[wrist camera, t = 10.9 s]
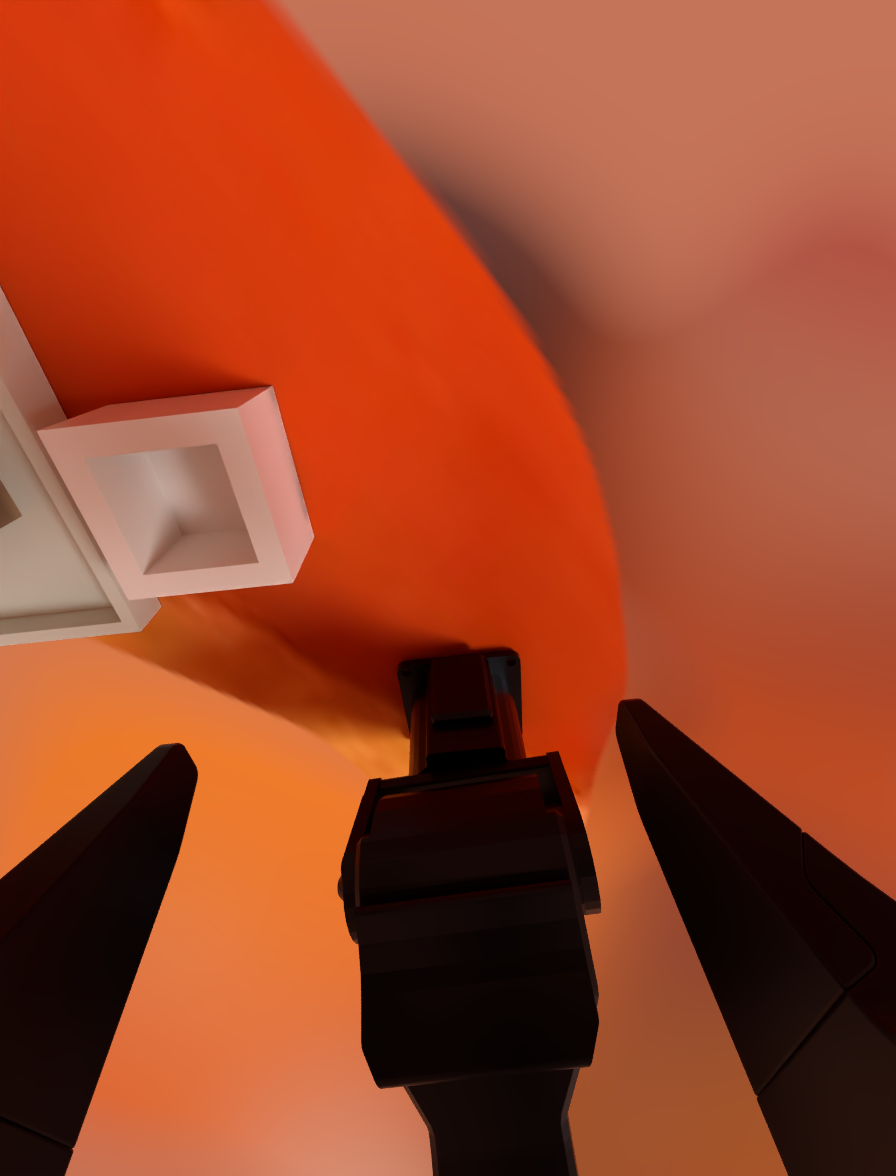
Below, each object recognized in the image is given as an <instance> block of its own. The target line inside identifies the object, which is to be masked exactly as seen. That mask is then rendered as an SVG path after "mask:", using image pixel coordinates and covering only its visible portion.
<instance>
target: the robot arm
mask: <svg viewBox="0 0 896 1176" xmlns="http://www.w3.org/2000/svg"><path fill="white" fill-rule="evenodd" d="M509 659H514V660H513V661H507V660H509ZM406 669H408V670H410V671H408V672H406V671H404V670H406ZM397 674H398V679H399V684H400V689H401V693H402V698H403V703H404V708H405V713H406V717H407V722H408V727H409V732H410V760H409V776H404V777H397V778H390V779H384V780H382V779H381V778H376V779H369V781H368V784H367V787H366V790H365V793H364V795H363V797H362V800H361V803H360V806H359V809H358V812H357V815H356V819H355V822H354V825H353V828H352V831H351V834H350V837H349V841H348V844H347V847H346V850H345V853H344V856H343V859H342V863H341V877H340V879H339V881H338V895H339V897H340V898H341V899H342V900H343V901H344V911H345V918H346V923H347V926H348V930H349V934H350V936H351V938H352V940H353V941H354V942H355V943H356V944H358V945H359V958H360V971H361V1044H362V1050H363V1053H364V1056H365V1058H366V1061H367V1063H368V1066H369V1068H370V1071H371V1073H372V1076H373V1078H374V1081H375V1083H376V1085H377V1086H378V1087H379V1088H380V1089H383V1088H393V1087H402V1086H403V1087H404V1088H405V1090H406V1092H407V1093H408V1095H409V1097H410V1099H411V1100H412V1102H413V1104H414V1105H415V1107H416V1109H417V1110H418V1112H419V1114H420V1116H421V1117H422V1119H423V1121H424V1122H425V1124H426V1126H427V1128H428V1131H429V1138H430V1146H431V1155H432V1168H433V1176H579V1175H578V1170H577V1164H576V1158H575V1152H574V1146H573V1141H572V1135H571V1129H570V1123H569V1117H568V1110H569V1106H570V1102H571V1098H572V1095H573V1091H574V1088H575V1084H576V1080H577V1077H578V1073H579V1070H580V1068H583V1067H589V1066H590V1065H591V1063H592V1059H593V1054H594V1049H595V1043H596V1037H597V1032H598V1026H599V1018H598V1012H597V1004H598V997H599V993H598V985H597V980H596V975H595V970H594V965H593V960H592V955H591V949H590V944H589V939H588V934H587V929H586V924H585V919H584V915H589V914H598V913H601V902H600V894H599V888H598V882H597V877H596V872H595V867H594V863H593V858H592V854H591V849H590V845H589V841H588V838H587V834H586V830H585V827H584V823H583V820H582V817H581V814H580V811H579V808H578V805H577V802H576V799H575V797H574V794H573V791H572V788H571V785H570V783H569V780H568V777H567V774H566V771H565V769H564V766H563V763H562V760H561V757H560V755H559V752H558V751H555V752H549V753H546V755H543V756H537V757H530V758H526V753H525V748H524V743H523V738H522V701H521V665H520V658H519V654H518V653H517V652H515V651H511V650H509V651H499V652H489V653H479V654H469V655H459V656H449V657H439V658H429V659H419V660H409V661H403V662H401V663H400V664H399V665H398V673H397ZM616 737H617V741H618V744H619V748H620V752H621V755H622V758H623V762H624V765H625V769H626V772H627V776H628V779H629V782H630V786H631V789H632V793H633V796H634V799H635V803H636V806H637V809H638V812H639V815H640V818H641V820H642V823H643V825H644V827H645V830H646V832H647V835H648V837H649V840H650V842H651V845H652V847H653V849H654V852H655V854H656V856H657V859H658V861H659V864H660V866H661V869H662V871H663V873H664V876H665V878H666V881H667V883H668V886H669V888H670V890H671V893H672V895H673V898H674V899H675V902H676V905H677V907H678V910H679V912H680V915H681V917H682V919H683V922H684V924H685V927H686V929H687V931H688V934H689V936H690V939H691V941H692V943H693V946H694V948H695V951H696V953H697V955H698V958H699V960H700V963H701V965H702V967H703V970H704V972H705V975H706V977H707V980H708V982H709V985H710V987H711V989H712V992H713V994H714V997H715V999H716V1001H717V1004H718V1006H719V1009H720V1011H721V1013H722V1016H723V1018H724V1021H725V1023H726V1025H727V1028H728V1030H729V1033H730V1035H731V1038H732V1040H733V1042H734V1045H735V1047H736V1050H737V1052H738V1054H739V1057H740V1059H741V1062H742V1064H743V1067H744V1069H745V1071H746V1074H747V1076H748V1078H749V1081H750V1083H751V1086H752V1088H753V1091H754V1093H755V1095H757V1096H758V1097H757V1101H758V1103H759V1106H760V1108H761V1111H762V1113H763V1115H764V1118H765V1120H766V1123H767V1125H768V1128H769V1130H770V1132H771V1135H772V1137H773V1140H774V1142H775V1144H776V1147H777V1149H778V1152H779V1154H780V1156H781V1159H782V1161H783V1164H784V1166H785V1169H786V1171H787V1173H788V1176H896V901H895V900H894V899H892V898H891V897H889V896H888V895H887V894H885V893H884V892H883V891H881V890H880V889H878V888H877V887H876V886H874V885H873V884H872V883H870V882H869V881H867V880H866V879H865V878H863V877H862V876H860V875H859V874H858V873H857V872H856V871H854V870H853V869H852V868H850V867H849V866H848V865H846V864H845V863H844V862H843V861H841V860H840V859H839V858H837V857H836V856H835V855H834V854H832V853H831V852H830V851H829V850H827V849H826V848H825V847H824V846H822V845H821V844H820V843H819V842H817V841H816V840H815V839H814V838H813V837H811V836H810V835H809V834H808V833H806V832H803V833H802V829H801V828H800V827H799V826H797V825H796V824H795V823H794V822H793V821H791V820H790V819H789V818H787V817H786V816H785V815H784V814H783V813H781V812H780V811H779V810H778V809H777V808H775V807H774V806H773V805H771V804H770V803H769V802H768V801H767V800H765V799H764V798H763V797H762V796H760V795H759V794H758V793H757V792H756V791H754V790H753V789H752V788H750V787H749V786H748V785H747V784H746V783H744V782H743V781H742V780H741V779H739V778H738V777H737V776H736V775H735V774H733V773H732V772H731V771H730V770H728V769H727V768H726V767H725V766H723V765H722V764H721V763H720V762H718V761H717V760H716V759H715V758H714V757H712V756H711V755H710V754H709V753H707V752H706V751H705V750H704V749H702V748H701V747H700V746H699V745H698V744H696V743H695V742H694V741H693V740H691V739H690V738H689V737H688V736H686V735H685V734H684V733H683V732H681V731H680V730H679V729H678V728H677V727H675V726H674V725H673V724H672V723H670V722H669V721H668V720H666V719H665V718H664V717H663V716H662V715H661V714H659V713H658V712H657V711H656V710H654V709H653V708H652V707H651V706H649V705H648V704H647V703H646V702H644V701H643V700H641V699H627V700H622V701H620V703H619V705H618V712H617V721H616ZM197 779H198V771H197V767H196V765H195V764H194V762H193V760H192V758H191V757H190V755H189V753H188V752H187V750H186V748H185V747H184V745H182V744H180V743H174V744H164V745H160V746H158V747H157V748H155V749H154V750H153V751H152V752H151V753H150V754H148V755H147V756H146V757H145V758H144V759H142V760H141V761H140V762H139V763H138V764H136V765H135V766H134V767H133V768H132V769H130V770H129V771H128V772H127V773H126V774H125V775H123V776H122V777H121V778H120V779H119V780H117V781H116V782H115V783H114V784H113V785H111V786H110V787H109V788H108V789H107V790H106V791H104V792H103V793H102V794H101V795H100V796H98V797H97V798H96V799H95V800H94V801H92V802H91V803H90V804H89V805H88V806H87V807H85V808H84V809H83V810H82V811H81V812H79V813H78V814H77V815H76V816H75V817H74V818H72V819H71V820H70V821H69V822H68V823H66V824H65V825H64V826H63V827H62V828H60V829H59V830H58V831H57V832H56V833H55V834H53V835H52V836H51V837H50V838H49V839H48V840H46V841H45V842H44V843H43V844H41V845H40V846H39V847H38V848H37V849H36V850H34V851H33V852H32V853H31V854H30V855H28V856H27V857H26V858H25V859H24V860H22V861H21V862H20V863H19V864H18V865H17V866H16V867H14V868H13V869H12V870H11V871H9V872H8V873H7V874H6V875H5V876H3V877H2V878H1V879H0V1176H65V1174H66V1170H67V1168H68V1165H69V1162H70V1160H71V1157H72V1154H73V1149H72V1148H74V1146H75V1144H76V1142H77V1139H78V1136H79V1133H80V1130H81V1127H82V1124H83V1122H84V1119H85V1116H86V1114H87V1111H88V1108H89V1105H90V1102H91V1100H92V1097H93V1094H94V1091H95V1088H96V1085H97V1083H98V1080H99V1077H100V1074H101V1071H102V1069H103V1066H104V1063H105V1060H106V1057H107V1055H108V1052H109V1049H110V1046H111V1043H112V1041H113V1038H114V1035H115V1032H116V1029H117V1026H118V1024H119V1021H120V1018H121V1015H122V1012H123V1010H124V1007H125V1004H126V1001H127V998H128V995H129V993H130V990H131V987H132V984H133V981H134V979H135V976H136V973H137V970H138V967H139V964H140V962H141V959H142V956H143V954H144V950H145V948H146V945H147V942H148V939H149V937H150V934H151V931H152V928H153V925H154V923H155V919H156V917H157V914H158V911H159V909H160V906H161V903H162V900H163V897H164V895H165V891H166V889H167V886H168V883H169V880H170V878H171V875H172V872H173V869H174V866H175V863H176V860H177V857H178V854H179V851H180V847H181V844H182V840H183V836H184V832H185V828H186V824H187V820H188V816H189V812H190V808H191V804H192V800H193V796H194V792H195V788H196V783H197Z"/></svg>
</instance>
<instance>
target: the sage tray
mask: <svg viewBox="0 0 896 1176" xmlns="http://www.w3.org/2000/svg"><path fill="white" fill-rule="evenodd" d="M65 420H67V418H66V416H65V414H64V412H63V410H62V408H61V406H60V404H59V402H58V400H57V398H56V396H55V394H54V392H53V390H52V388H51V386H50V384H49V382H48V380H47V378H46V376H45V374H44V372H43V370H42V368H41V366H40V364H39V362H38V360H37V358H36V356H35V354H34V352H33V350H32V348H31V346H30V344H29V342H28V340H27V338H26V336H25V334H24V332H23V330H22V328H21V326H20V324H19V322H18V320H17V318H16V316H15V314H14V312H13V310H12V309H11V307H10V305H9V303H8V301H7V299H6V297H5V295H4V293H3V291H2V289H1V287H0V480H1V481H2V483H3V485H4V486H5V488H6V490H7V491H8V493H9V495H10V496H11V498H12V500H13V501H14V503H15V504H16V506H17V508H18V509H19V511H20V513H21V514H22V517H20V518H18V519H16V520H15V521H13V522H11V523H9V524H7V525H6V526H4V527H2V528H0V646H5V645H15V644H25V643H34V642H44V641H54V640H64V639H73V638H83V637H93V636H102V635H112V634H122V633H131V632H141V631H142V630H143V629H144V627H145V626H146V625H147V624H148V623H149V621H150V620H151V619H152V618H153V617H154V615H155V614H156V613H157V612H158V611H159V609H160V608H161V607H162V606H161V604H160V602H159V600H158V598H157V597H155V598H145V599H136V600H128V598H127V597H126V595H125V593H124V591H123V589H122V587H121V586H120V584H119V582H118V580H117V578H116V576H115V575H114V573H113V571H112V569H111V567H110V565H109V564H108V562H107V560H106V558H105V556H104V554H103V553H102V551H101V549H100V547H99V545H98V543H97V541H96V540H95V538H94V536H93V534H92V532H91V530H90V529H89V527H88V525H87V523H86V521H85V519H84V518H83V516H82V514H81V512H80V510H79V508H78V507H77V505H76V503H75V501H74V499H73V497H72V496H71V494H70V492H69V490H68V488H67V486H66V485H65V483H64V481H63V479H62V477H61V475H60V474H59V472H58V470H57V468H56V466H55V464H54V462H53V461H52V459H51V457H50V455H49V453H48V451H47V450H46V448H45V446H44V444H43V442H42V440H41V439H40V437H39V435H38V433H37V430H40V429H43V428H46V427H48V426H51V425H54V424H57V423H60V422H62V421H65Z"/></svg>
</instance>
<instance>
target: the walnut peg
mask: <svg viewBox="0 0 896 1176" xmlns="http://www.w3.org/2000/svg"><path fill="white" fill-rule="evenodd" d="M20 517H22V514H21V513H20V511H19V509H18V508H17V506H16V504H15V503H14V501H13V500H12V498H11V496H10V495H9V493H8V491H7V490H6V488H5V486H4V485H3V483H2V481H1V480H0V528H2V527H4V526H6V525H7V524H9V523H11V522H13V521H15V520H16V519H18V518H20Z"/></svg>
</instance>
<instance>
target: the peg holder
mask: <svg viewBox="0 0 896 1176" xmlns="http://www.w3.org/2000/svg"><path fill="white" fill-rule="evenodd" d="M37 433H38V435H39V437H40V439H41V440H42V442H43V444H44V446H45V448H46V450H47V451H48V453H49V455H50V457H51V459H52V461H53V462H54V464H55V466H56V468H57V470H58V472H59V474H60V475H61V477H62V479H63V481H64V483H65V485H66V486H67V488H68V490H69V492H70V494H71V496H72V497H73V499H74V501H75V503H76V505H77V507H78V508H79V510H80V512H81V514H82V516H83V518H84V519H85V521H86V523H87V525H88V527H89V529H90V530H91V532H92V534H93V536H94V538H95V540H96V541H97V543H98V545H99V547H100V549H101V551H102V553H103V554H104V556H105V558H106V560H107V562H108V564H109V565H110V567H111V569H112V571H113V573H114V575H115V576H116V578H117V580H118V582H119V584H120V586H121V587H122V589H123V591H124V593H125V595H126V597H127V598H128V600H136V599H145V598H155V597H164V596H174V595H183V594H193V593H202V592H212V591H221V590H231V589H240V588H250V587H260V586H269V585H279V584H288V583H293V582H294V580H295V578H296V575H297V573H298V571H299V569H300V567H301V565H302V562H303V560H304V558H305V556H306V554H307V552H308V549H309V547H310V545H311V543H312V541H313V539H314V534H313V531H312V527H311V523H310V520H309V516H308V513H307V509H306V505H305V502H304V498H303V494H302V491H301V487H300V483H299V480H298V476H297V473H296V469H295V465H294V462H293V458H292V454H291V451H290V447H289V444H288V440H287V436H286V433H285V429H284V425H283V422H282V418H281V414H280V411H279V407H278V404H277V400H276V396H275V393H274V389H273V386H267V387H258V388H250V389H241V390H232V391H224V392H215V393H206V394H197V395H189V396H180V397H171V398H163V399H154V400H145V401H137V402H128V403H119V404H111V405H106V406H104V407H101V408H98V409H95V410H93V411H90V412H87V413H84V414H82V415H79V416H76V417H73V418H71V419H68V420H65V421H62V422H60V423H57V424H54V425H51V426H48V427H46V428H43V429H40V430H37Z"/></svg>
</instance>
